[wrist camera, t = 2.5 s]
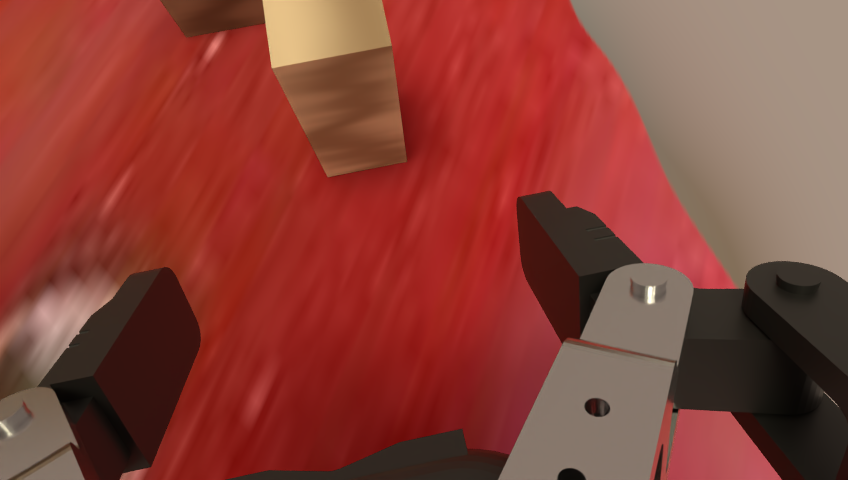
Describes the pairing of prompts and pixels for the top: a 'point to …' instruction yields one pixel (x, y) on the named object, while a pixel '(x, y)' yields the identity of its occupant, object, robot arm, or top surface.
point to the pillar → (339, 79)
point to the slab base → (214, 14)
